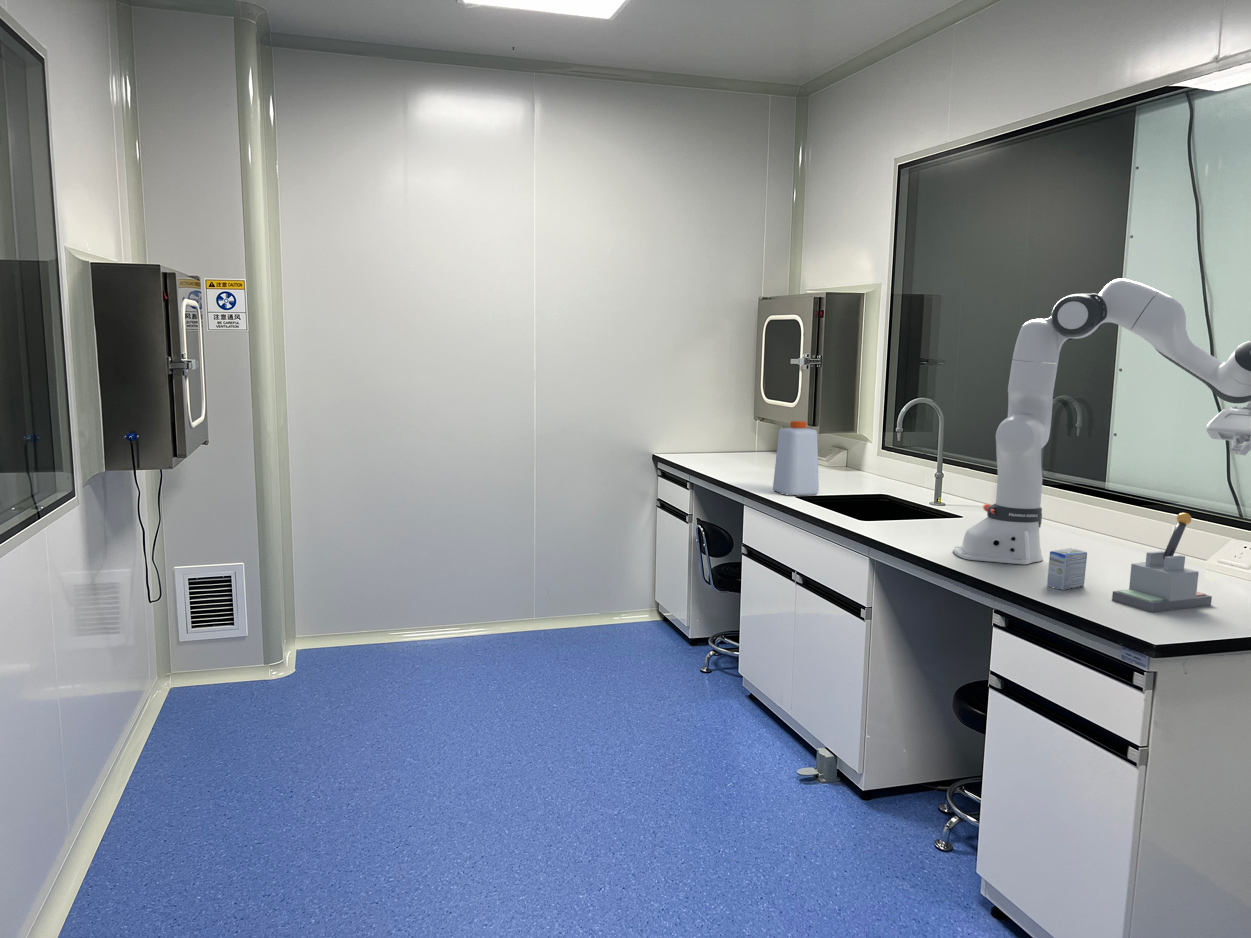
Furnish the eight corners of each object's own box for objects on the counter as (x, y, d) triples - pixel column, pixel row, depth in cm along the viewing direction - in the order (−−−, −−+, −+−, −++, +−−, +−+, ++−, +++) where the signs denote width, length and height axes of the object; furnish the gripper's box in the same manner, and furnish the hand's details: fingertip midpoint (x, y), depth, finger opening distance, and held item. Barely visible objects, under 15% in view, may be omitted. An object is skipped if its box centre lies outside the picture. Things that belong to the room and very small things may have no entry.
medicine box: (1067, 582, 213) (1070, 547, 212) (1084, 587, 209) (1087, 551, 208) (1046, 586, 210) (1049, 550, 208) (1063, 591, 206) (1066, 554, 205)
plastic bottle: (787, 497, 334) (790, 423, 330) (768, 490, 348) (771, 420, 344) (822, 495, 339) (826, 422, 335) (802, 489, 353) (805, 419, 349)
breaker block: (1169, 593, 205) (1173, 547, 203) (1210, 605, 196) (1216, 556, 194) (1111, 599, 198) (1116, 552, 197) (1152, 612, 189) (1157, 562, 188)
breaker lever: (1164, 561, 198) (1184, 514, 198) (1175, 564, 195) (1196, 516, 195) (1156, 557, 197) (1176, 509, 197) (1168, 559, 194) (1188, 511, 194)
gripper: (1220, 397, 210) (1187, 438, 208) (1312, 402, 191) (1277, 448, 189) (1231, 415, 212) (1198, 457, 210) (1323, 422, 193) (1288, 468, 191)
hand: (1236, 452), depth 199 cm, fingers closed
